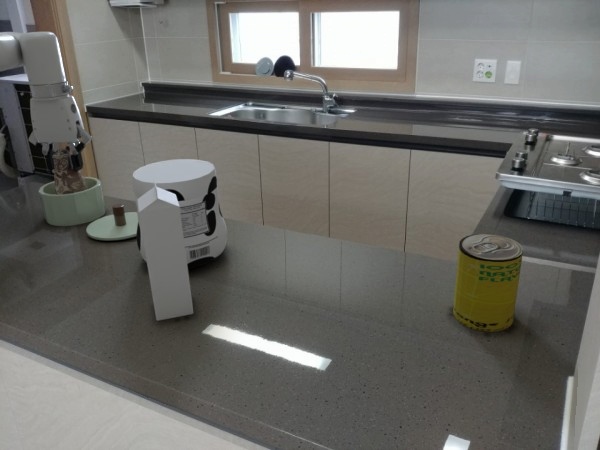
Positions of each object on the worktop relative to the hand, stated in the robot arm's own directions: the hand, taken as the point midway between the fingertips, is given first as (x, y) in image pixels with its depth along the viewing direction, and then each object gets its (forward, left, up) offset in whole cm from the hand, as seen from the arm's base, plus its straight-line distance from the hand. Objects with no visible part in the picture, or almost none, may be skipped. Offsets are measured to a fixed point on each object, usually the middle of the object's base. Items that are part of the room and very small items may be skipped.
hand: (66, 169), depth 126 cm
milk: (+38, -40, -12) cm, 56 cm away
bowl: (0, 0, -12) cm, 12 cm away
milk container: (+34, -21, -12) cm, 42 cm away
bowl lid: (+15, -8, -11) cm, 20 cm away
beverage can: (+88, -39, -12) cm, 97 cm away
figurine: (0, 0, -7) cm, 7 cm away
